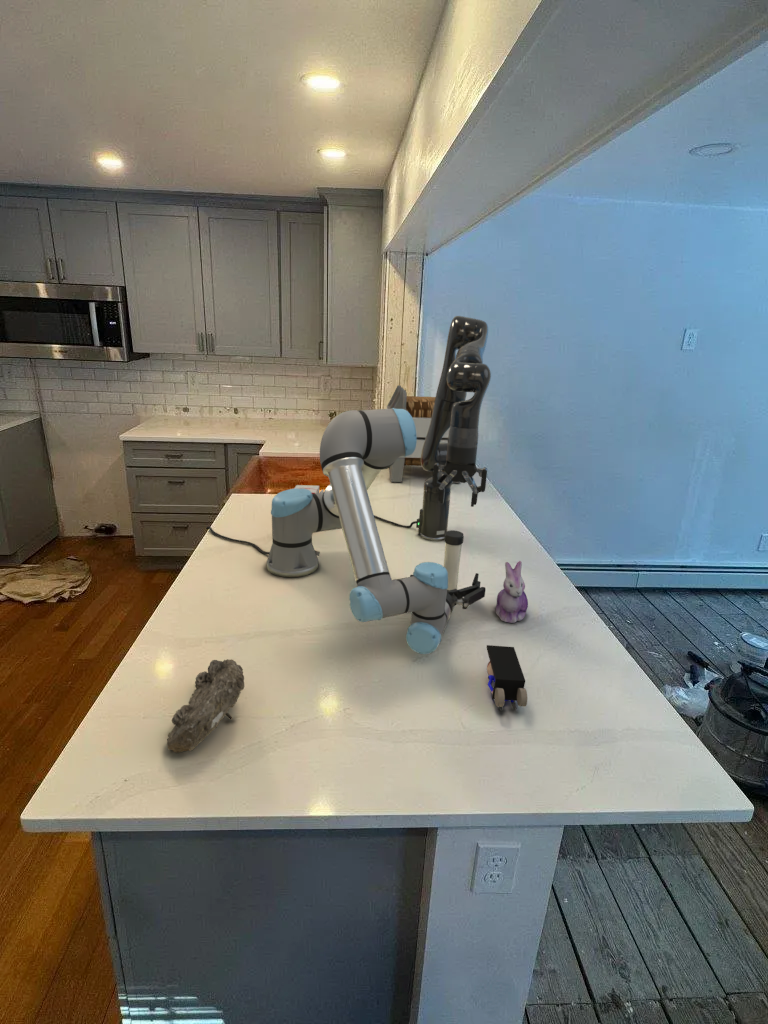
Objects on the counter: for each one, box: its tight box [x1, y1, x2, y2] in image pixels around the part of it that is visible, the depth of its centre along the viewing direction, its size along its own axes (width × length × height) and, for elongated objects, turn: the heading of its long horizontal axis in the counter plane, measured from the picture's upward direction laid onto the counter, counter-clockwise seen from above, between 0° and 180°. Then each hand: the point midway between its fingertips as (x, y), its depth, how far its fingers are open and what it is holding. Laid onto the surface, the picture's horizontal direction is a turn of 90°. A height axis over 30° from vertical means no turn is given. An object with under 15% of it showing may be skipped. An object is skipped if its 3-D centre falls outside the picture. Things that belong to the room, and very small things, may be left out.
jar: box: [443, 543, 462, 590], centre depth 156 cm, size 4×4×18 cm
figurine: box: [495, 560, 529, 624], centre depth 147 cm, size 9×10×15 cm
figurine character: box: [485, 644, 528, 712], centre depth 117 cm, size 7×8×15 cm
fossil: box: [166, 658, 245, 754], centre depth 106 cm, size 22×10×15 cm
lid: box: [443, 529, 465, 546], centre depth 153 cm, size 5×5×2 cm
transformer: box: [386, 384, 460, 484], centre depth 268 cm, size 34×33×41 cm
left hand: (452, 573), depth 157 cm, fingers open, 13 cm apart
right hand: (457, 504), depth 150 cm, fingers open, 7 cm apart
